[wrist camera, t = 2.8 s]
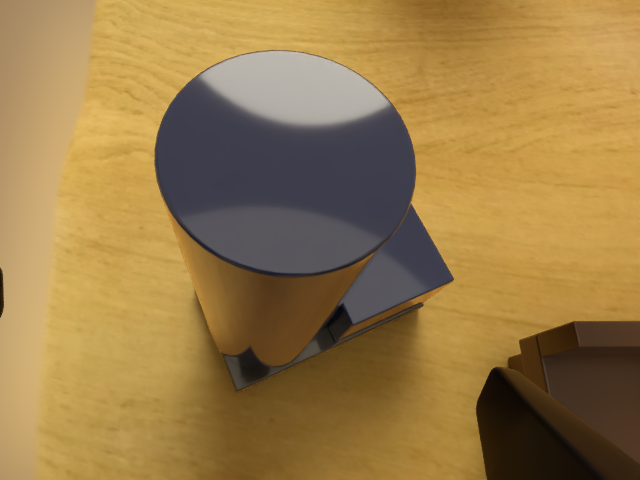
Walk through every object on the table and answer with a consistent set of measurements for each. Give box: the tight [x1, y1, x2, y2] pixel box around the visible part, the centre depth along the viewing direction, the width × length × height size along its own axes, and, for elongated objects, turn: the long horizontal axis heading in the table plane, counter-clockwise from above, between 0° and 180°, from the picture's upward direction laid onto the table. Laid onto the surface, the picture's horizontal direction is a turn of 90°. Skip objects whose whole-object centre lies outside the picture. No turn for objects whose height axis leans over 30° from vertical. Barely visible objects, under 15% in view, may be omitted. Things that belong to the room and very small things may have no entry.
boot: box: [154, 50, 454, 393], centre depth 14 cm, size 8×4×12 cm, turn 115°
